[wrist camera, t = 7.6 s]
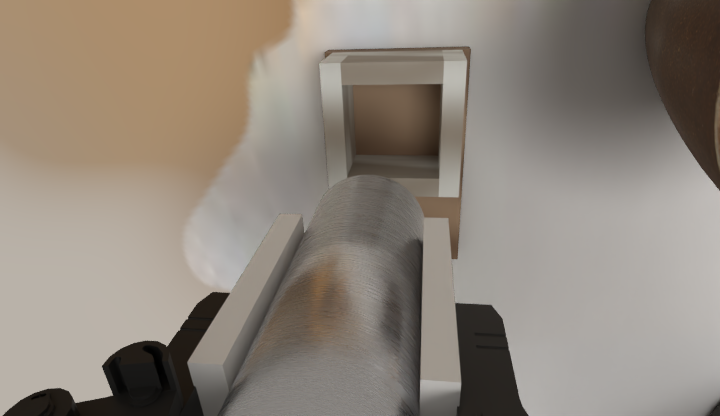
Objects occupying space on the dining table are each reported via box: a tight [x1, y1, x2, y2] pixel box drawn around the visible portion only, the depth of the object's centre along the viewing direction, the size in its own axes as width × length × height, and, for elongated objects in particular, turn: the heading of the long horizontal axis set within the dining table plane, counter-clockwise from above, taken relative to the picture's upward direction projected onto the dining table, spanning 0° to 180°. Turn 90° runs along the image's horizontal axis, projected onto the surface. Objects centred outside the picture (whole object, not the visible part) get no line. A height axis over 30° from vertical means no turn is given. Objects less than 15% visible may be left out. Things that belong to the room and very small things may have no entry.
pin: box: [218, 175, 424, 416], centre depth 11 cm, size 4×4×12 cm
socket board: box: [319, 47, 471, 259], centre depth 30 cm, size 15×9×5 cm, turn 2°
